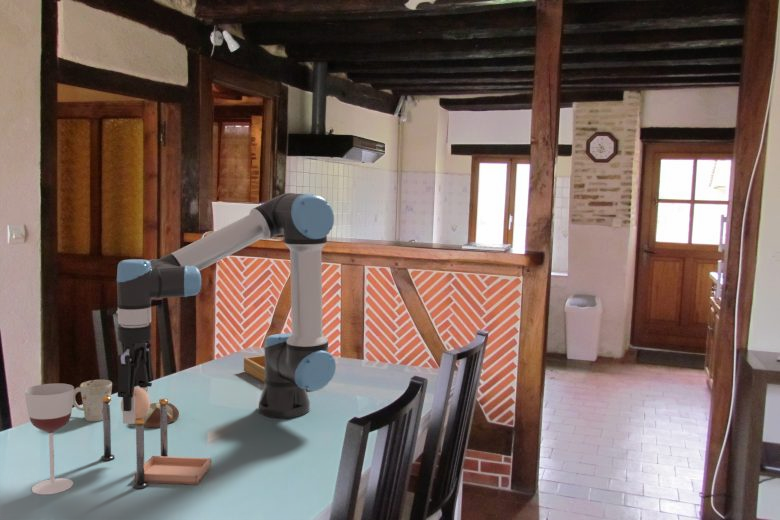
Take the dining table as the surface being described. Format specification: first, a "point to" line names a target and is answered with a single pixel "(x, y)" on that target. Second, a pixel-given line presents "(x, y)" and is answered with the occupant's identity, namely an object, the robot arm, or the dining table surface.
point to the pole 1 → (107, 429)
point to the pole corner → (163, 427)
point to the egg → (140, 402)
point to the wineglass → (50, 424)
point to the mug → (93, 398)
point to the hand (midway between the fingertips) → (135, 417)
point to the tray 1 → (175, 470)
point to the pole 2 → (140, 454)
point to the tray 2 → (255, 367)
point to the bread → (154, 415)
